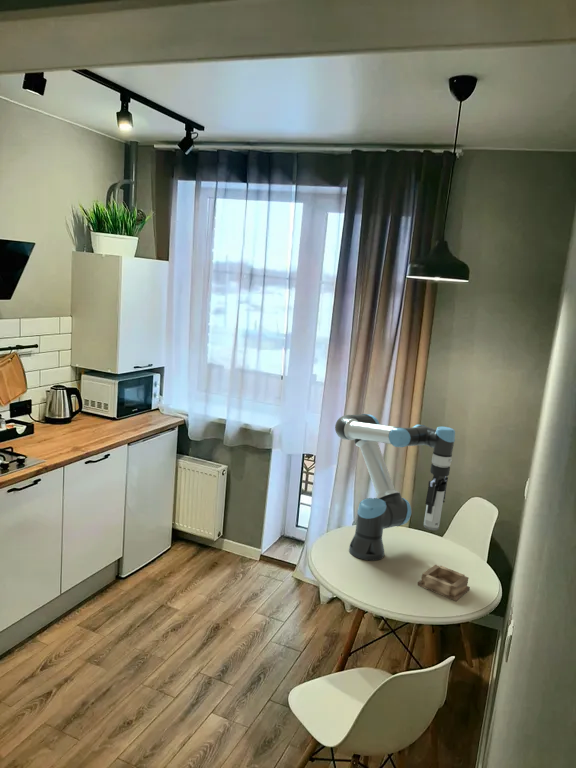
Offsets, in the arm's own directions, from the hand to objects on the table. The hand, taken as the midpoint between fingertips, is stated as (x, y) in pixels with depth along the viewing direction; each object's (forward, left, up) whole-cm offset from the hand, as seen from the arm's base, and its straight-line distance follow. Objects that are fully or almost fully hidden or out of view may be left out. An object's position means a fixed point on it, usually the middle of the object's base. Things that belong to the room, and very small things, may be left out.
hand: (432, 518), depth 236 cm
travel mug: (0, 0, -4) cm, 4 cm away
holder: (+12, -9, -22) cm, 27 cm away
